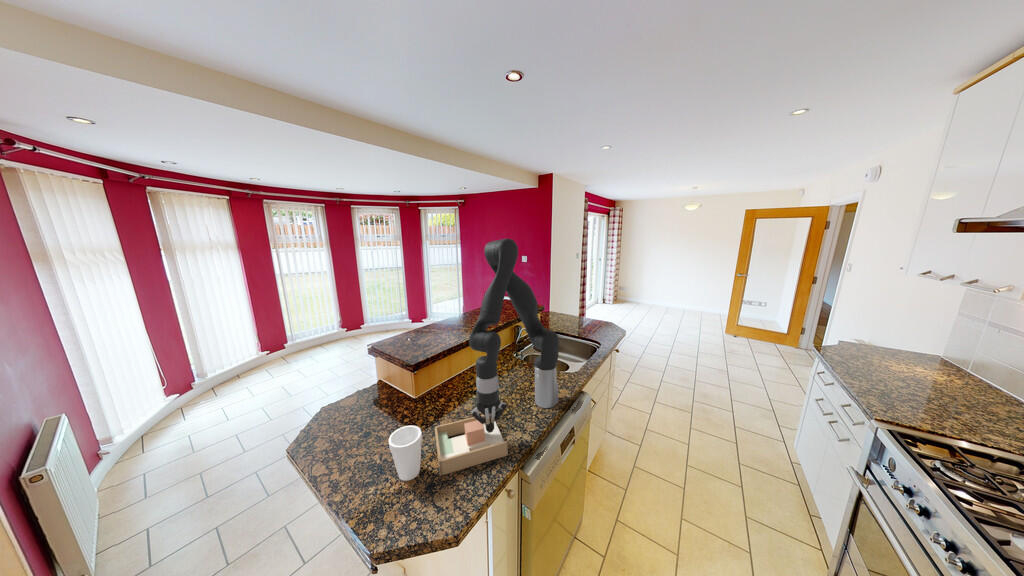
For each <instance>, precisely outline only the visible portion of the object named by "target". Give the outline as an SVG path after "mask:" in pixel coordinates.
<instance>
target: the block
mask: <svg viewBox="0 0 1024 576" xmlns="http://www.w3.org/2000/svg"><path fill="white" fill-rule="evenodd" d="M464 427H465V433H464V435H465V438H466V441H467V445H468V446H469V445H473V444H476V443H480V442H483V441H485V432H484V426H483V424H481V423H480V422H479V421H478V420H476V421H472V422H468V423H464Z"/></svg>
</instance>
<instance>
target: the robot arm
mask: <svg viewBox="0 0 1024 576" xmlns="http://www.w3.org/2000/svg"><path fill="white" fill-rule="evenodd" d="M483 251H484V256H485V259H486V262H487V263H488V265H489V267H490V269H492V271H493V273H494V274H495V276H494V278H493V280H492V281H491V283H490V284H489V286H488V288H487V289H486V291H485V293H484V294H483V299H482V302H481V306H480V311H479V315H478V318H477V320H476V322H475V324H474V326H473V328H472V330H471V332H470V335H469V339H468V340H469V341H468V344H469V348H470V349H471V350H474V351H476V352H480V353H486V355H482V356H480V357H478V358H477V359H476V361H475V370H476V371H475V373H476V374H475V375H476V379H475V381H476V383H475V384H476V385H475V386H476V387H475V388H476V397H477V398H476V399H477V401H476V405H475V408H473V409H472V408H471V410H470V413H471V417H474V418H475V419H477V420H478V421H479V422H480V423H481V424H484V423H485V426H486V430H487V432H489V433H490V432H493V430H494V421H495V422H496V421H498V420H500V418H501V416H502V415H503V413H505V410H506V409H507V405H506V403H505V402H504V401H501V399H500V392H499V388H500V387H499V385H500V383H499V377H498V365H497V364H498V358H499V353H500V350H501V345H502V339H501V337H500V335H499V333H497V332H495V331H490V330H487V329H488V327H490V326H492V325H498V324H499V322H500V320H501V317H502V316H501V314H502V309H503V305H504V300H505V295H506V294H507V296H508V298H509V300H510V302H511V304H512V306H513V308H514V310H515V311H516V313H517V315H518V317H519V319H520V320H521V322H522V324H523V326H524V328H525V331H526V333H527V336H528V339H529V341H530V343H531V345H532V347H534V348H535V349H538V350H539V351H540V355H538V356H536V357H535V358H534V402H535V405H536V406H538V407H539V408H542V409H551V408H554V407H555V406H556V405H558V404H559V383H558V381H557V363H558V359H559V352H560V351H559V349H560V339H559V335H558V334H557V332H556V331H553V330H551V329H548V328H546V327H545V326H544V325H543V324H542V323H541V320H540V318H539V315H538V312H539V311H538V309H539V303H538V301H537V298H536V295H535V294H534V291H533V290H532V287H531V286H530V285H529V284H528V283H527V282H526V281H525V280H523V279H522V278H521V277H520V276H519V275H518V274H516V272H515V270H514V269H515V266H516V264H517V261H518V256H519V247H518V245H517V243H516V241H515V240H514V239H512V238H502V239H497V240H492V241H490V242H488V243H486V244H485V246H484V250H483ZM480 413H481V414H480ZM481 415H484V418H483V417H482V416H481ZM489 419H490V420H489Z"/></svg>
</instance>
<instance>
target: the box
mask: <svg viewBox="0 0 1024 576" xmlns="http://www.w3.org/2000/svg"><path fill="white" fill-rule="evenodd" d="M480 415H481V416H482V417H483V418H484V415H483V414H480ZM476 420H477V419H475V418H474V417H473V416H471V417H468V418H463V419H461V420H460V419H459V420H456V421H453V422H448V423H445V424H444V423H443V424H439V425H436V426H434V433H435V435H434V436H435V444H436V453H437V461H438V469H439V475H440V477H441V476H444V475H447V474H451V473H455V472H458V471H462V470H464V469H467V468H471V467H474V466H477V465H481V464H483V463H488V462H491V461H494V460H498V459H500V458H503V457H507V456H509V455H508V452H509V451H508V450H509V448H508V441H507V440H504V437H503V436H502V433H501V431H500V429H499V427H498V424H497V422H496V420H495V421H494V430H493V432H490V433H489V432H487V430H486V426H485V423H484V424H483V426H484V432H485V441H483V442H480V443H476V444H473V445H469V446H468V445H467V441H466V438H465V427H464V423H468V422H472V421H476ZM489 420H490V419H489ZM460 434H462V435H460ZM453 436H454V437H453ZM449 437H451V438H449Z"/></svg>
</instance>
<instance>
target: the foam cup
mask: <svg viewBox="0 0 1024 576" xmlns="http://www.w3.org/2000/svg"><path fill="white" fill-rule="evenodd" d="M422 441H423V433H422V429H421V428H420V427H419V426H417V425H405V426H401V427H400V428H398V429H397V428H396V430H394V431H393V432H392V433H391V434H390V436H389V438H388V446H389V451H390V453H391V456H392V459H393V462H394V465H395V469H396V472H397V475H398V478H399V480H400V481H403V482H408V481H411V480H413V479H414V478H416V477H417V476H418V475H419V474H420V471H421V456H422Z"/></svg>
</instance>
